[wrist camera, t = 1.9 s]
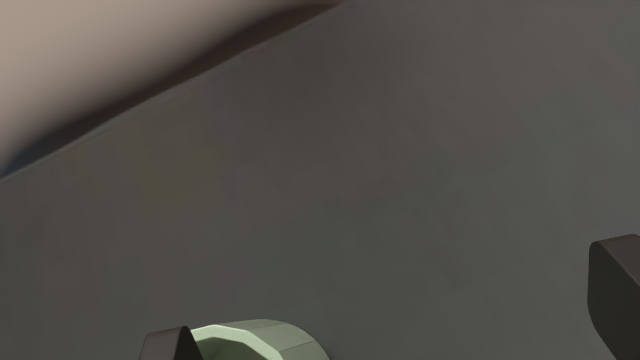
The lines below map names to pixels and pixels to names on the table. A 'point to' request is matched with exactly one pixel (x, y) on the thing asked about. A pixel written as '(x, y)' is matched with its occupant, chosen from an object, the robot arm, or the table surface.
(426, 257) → the table surface
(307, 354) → the pen pot
